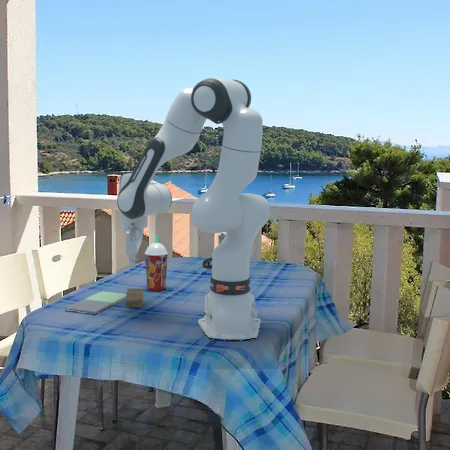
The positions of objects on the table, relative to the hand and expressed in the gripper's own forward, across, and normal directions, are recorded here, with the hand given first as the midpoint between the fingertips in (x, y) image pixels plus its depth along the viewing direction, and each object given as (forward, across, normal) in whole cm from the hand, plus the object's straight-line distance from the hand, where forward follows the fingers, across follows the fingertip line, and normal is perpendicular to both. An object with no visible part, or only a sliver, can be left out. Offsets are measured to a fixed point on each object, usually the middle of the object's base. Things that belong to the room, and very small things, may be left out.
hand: (133, 262), depth 188 cm
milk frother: (+15, +54, -32) cm, 64 cm away
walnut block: (+14, 0, 0) cm, 14 cm away
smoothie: (+14, +20, -6) cm, 25 cm away
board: (+14, +1, +12) cm, 18 cm away
